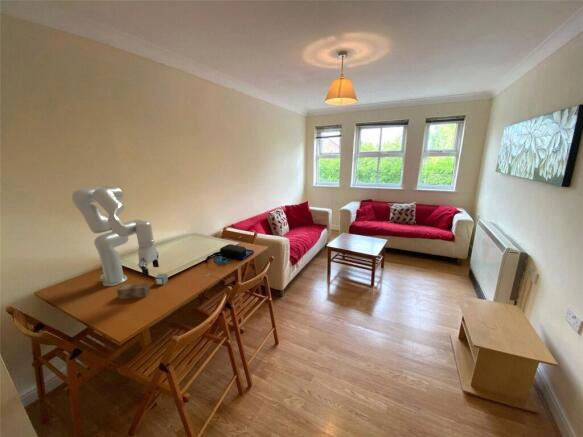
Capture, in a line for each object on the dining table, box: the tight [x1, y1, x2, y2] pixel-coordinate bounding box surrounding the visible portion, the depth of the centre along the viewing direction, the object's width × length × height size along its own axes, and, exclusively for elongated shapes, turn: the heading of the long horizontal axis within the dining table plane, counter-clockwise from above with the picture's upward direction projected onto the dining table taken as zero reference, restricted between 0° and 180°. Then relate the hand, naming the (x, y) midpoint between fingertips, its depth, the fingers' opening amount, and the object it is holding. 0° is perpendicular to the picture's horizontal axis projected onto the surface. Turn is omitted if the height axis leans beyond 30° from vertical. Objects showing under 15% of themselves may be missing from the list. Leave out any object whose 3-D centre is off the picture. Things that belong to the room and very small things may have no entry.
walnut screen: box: [116, 282, 150, 300], centre depth 136 cm, size 14×5×6 cm, turn 99°
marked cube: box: [154, 273, 169, 286], centre depth 149 cm, size 5×5×5 cm
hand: (151, 270), depth 139 cm, fingers open, 9 cm apart
